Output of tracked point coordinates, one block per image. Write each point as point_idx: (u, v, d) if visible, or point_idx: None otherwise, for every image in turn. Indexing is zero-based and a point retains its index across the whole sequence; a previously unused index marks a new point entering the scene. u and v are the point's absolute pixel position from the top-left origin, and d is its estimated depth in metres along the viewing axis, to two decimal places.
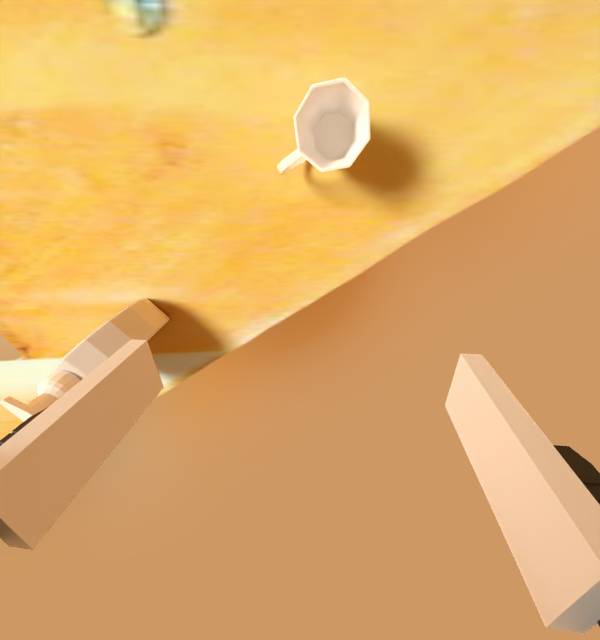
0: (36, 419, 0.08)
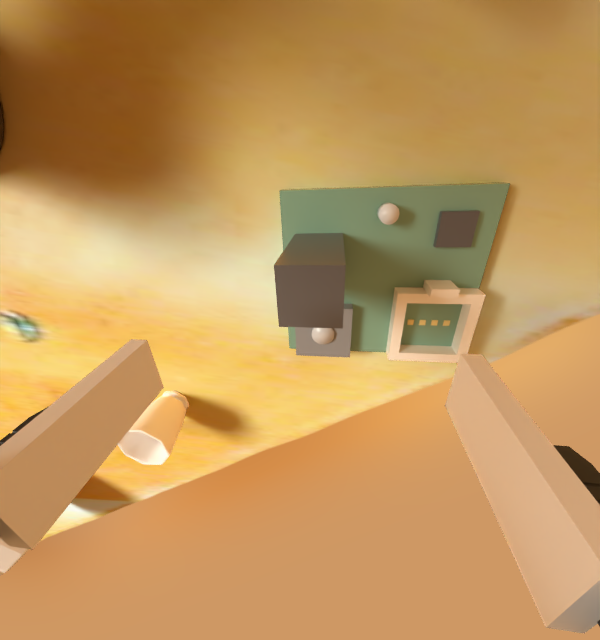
0: (36, 419, 0.08)
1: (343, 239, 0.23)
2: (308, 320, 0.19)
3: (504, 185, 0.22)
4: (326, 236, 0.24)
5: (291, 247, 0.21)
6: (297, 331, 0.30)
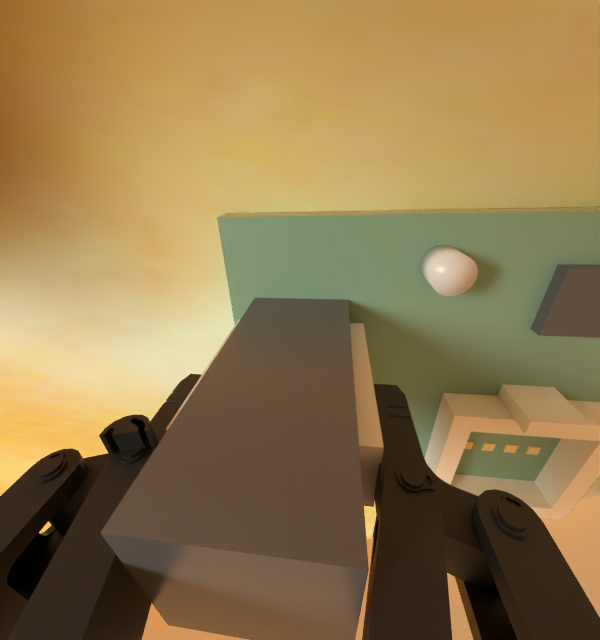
0: None
1: None
2: (247, 631, 0.06)
3: None
4: (314, 312, 0.12)
5: (222, 367, 0.09)
6: None
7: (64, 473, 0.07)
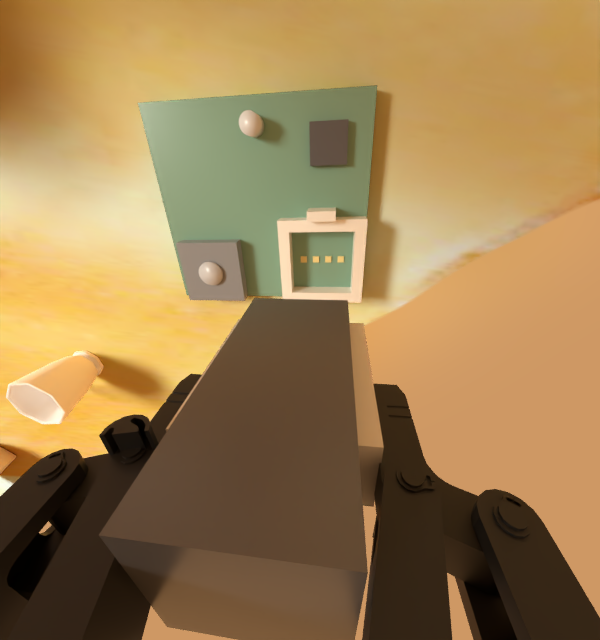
0: None
1: (349, 329, 0.10)
2: (246, 633, 0.06)
3: (371, 88, 0.20)
4: (313, 313, 0.12)
5: (222, 368, 0.09)
6: (185, 271, 0.28)
7: (64, 473, 0.07)
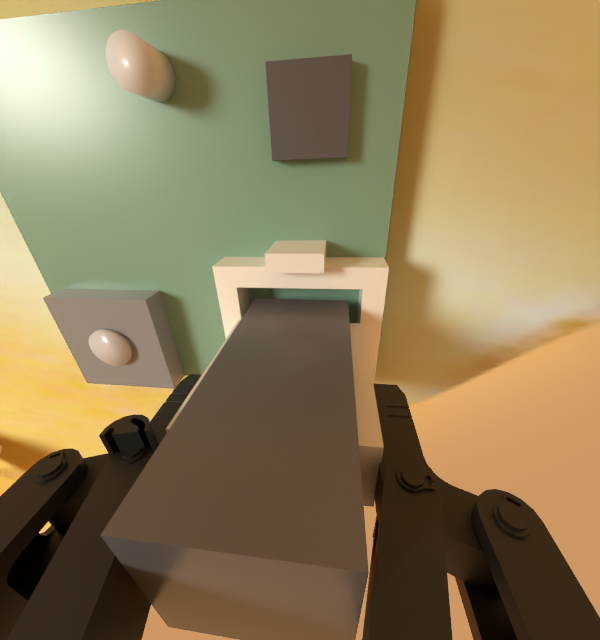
0: None
1: None
2: (247, 633, 0.06)
3: None
4: (314, 313, 0.12)
5: (223, 368, 0.09)
6: (69, 342, 0.16)
7: (64, 473, 0.07)
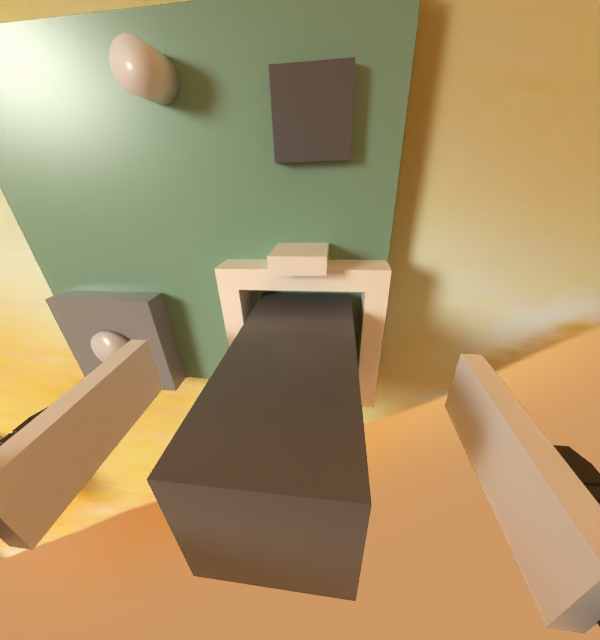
0: (36, 419, 0.08)
1: None
2: (264, 578, 0.07)
3: None
4: (319, 305, 0.13)
5: (238, 351, 0.10)
6: (71, 343, 0.16)
7: None
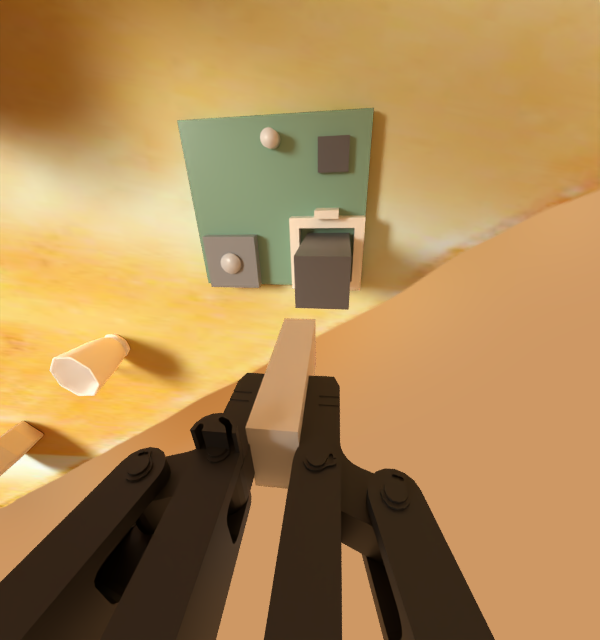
0: (265, 379, 0.09)
1: None
2: (320, 302, 0.23)
3: (369, 110, 0.25)
4: (334, 235, 0.29)
5: (305, 243, 0.26)
6: (208, 261, 0.32)
7: (151, 476, 0.07)
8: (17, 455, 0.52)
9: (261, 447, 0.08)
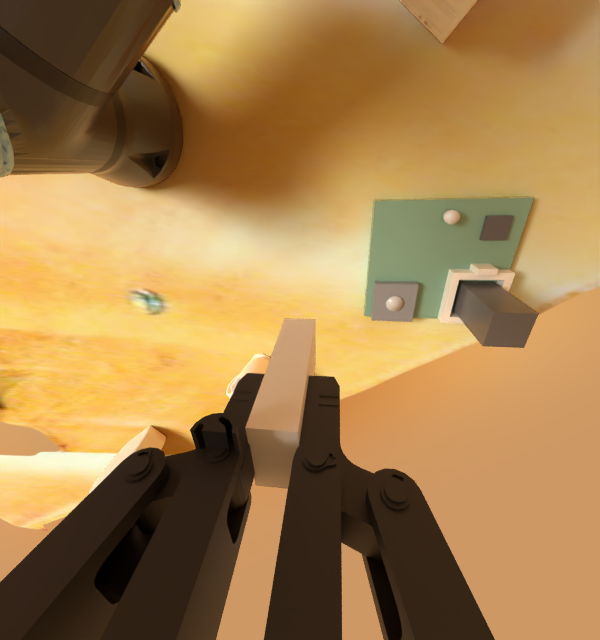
0: (266, 379, 0.09)
1: None
2: (503, 342, 0.32)
3: (530, 198, 0.34)
4: (487, 284, 0.38)
5: (479, 296, 0.34)
6: (375, 301, 0.41)
7: (151, 476, 0.07)
8: None
9: (261, 448, 0.08)
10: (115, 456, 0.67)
